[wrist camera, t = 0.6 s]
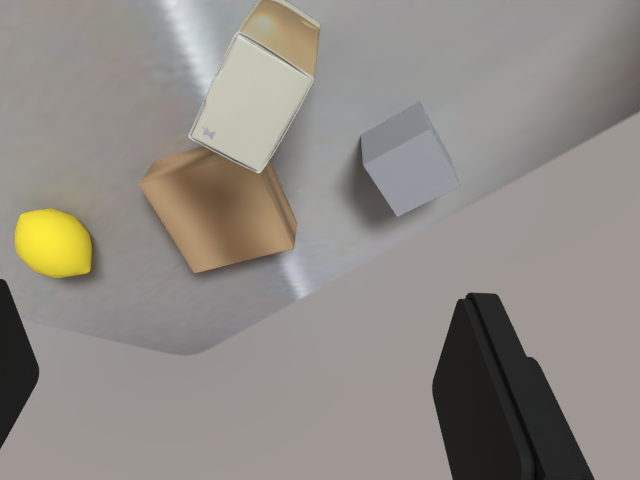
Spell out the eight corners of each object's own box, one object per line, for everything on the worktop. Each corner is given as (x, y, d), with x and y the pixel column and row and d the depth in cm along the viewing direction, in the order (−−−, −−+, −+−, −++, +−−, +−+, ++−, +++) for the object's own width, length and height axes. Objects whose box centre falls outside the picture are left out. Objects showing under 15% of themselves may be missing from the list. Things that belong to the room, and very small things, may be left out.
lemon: (24, 216, 44) (-18, 248, 40) (57, 183, 42) (17, 211, 38) (86, 270, 47) (53, 305, 42) (121, 240, 44) (90, 274, 40)
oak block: (257, 128, 38) (249, 151, 35) (297, 220, 43) (293, 248, 40) (155, 160, 40) (138, 184, 37) (204, 245, 45) (194, 273, 42)
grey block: (419, 100, 37) (429, 128, 32) (448, 153, 39) (460, 185, 35) (360, 134, 38) (363, 165, 34) (391, 183, 41) (397, 216, 37)
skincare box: (280, 99, 37) (258, 181, 27) (226, 69, 35) (183, 143, 26) (324, 19, 33) (319, 79, 23) (267, -18, 32) (235, 29, 22)
